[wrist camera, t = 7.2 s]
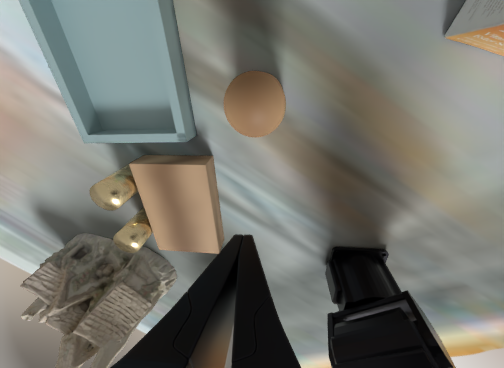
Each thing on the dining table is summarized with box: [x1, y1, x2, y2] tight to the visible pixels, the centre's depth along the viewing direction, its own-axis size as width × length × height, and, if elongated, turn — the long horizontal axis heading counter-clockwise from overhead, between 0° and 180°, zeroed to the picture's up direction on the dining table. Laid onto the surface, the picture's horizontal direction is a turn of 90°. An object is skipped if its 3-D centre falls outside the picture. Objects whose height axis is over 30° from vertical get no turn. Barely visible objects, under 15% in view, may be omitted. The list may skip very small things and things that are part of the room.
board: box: [129, 155, 224, 254], centre depth 24 cm, size 8×12×3 cm, turn 2°
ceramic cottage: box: [21, 233, 177, 368], centre depth 26 cm, size 16×16×15 cm
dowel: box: [224, 71, 286, 137], centre depth 15 cm, size 4×4×6 cm
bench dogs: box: [90, 165, 153, 253], centre depth 23 cm, size 3×9×5 cm, turn 3°
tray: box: [19, 0, 197, 143], centre depth 17 cm, size 11×13×2 cm
